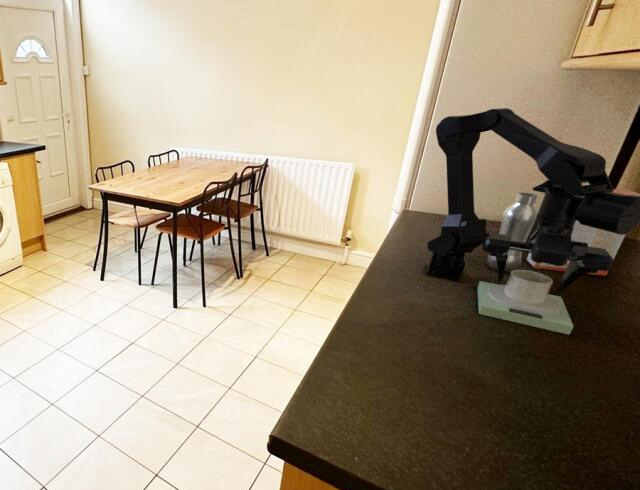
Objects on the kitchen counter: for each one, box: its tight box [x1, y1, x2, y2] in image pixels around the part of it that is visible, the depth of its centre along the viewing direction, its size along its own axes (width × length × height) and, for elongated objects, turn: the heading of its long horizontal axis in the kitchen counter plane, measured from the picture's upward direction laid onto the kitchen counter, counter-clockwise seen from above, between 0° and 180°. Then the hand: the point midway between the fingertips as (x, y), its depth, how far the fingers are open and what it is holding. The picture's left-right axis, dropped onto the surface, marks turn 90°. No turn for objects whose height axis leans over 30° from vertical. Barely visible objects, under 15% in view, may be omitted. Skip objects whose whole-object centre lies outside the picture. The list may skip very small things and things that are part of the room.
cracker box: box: [526, 188, 640, 277], centre depth 103 cm, size 14×6×21 cm, turn 65°
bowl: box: [504, 269, 554, 304], centre depth 88 cm, size 7×7×5 cm
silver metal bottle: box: [486, 192, 538, 273], centre depth 104 cm, size 6×7×20 cm
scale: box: [477, 280, 574, 336], centre depth 89 cm, size 14×14×3 cm
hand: (527, 287), depth 88 cm, fingers open, 9 cm apart
